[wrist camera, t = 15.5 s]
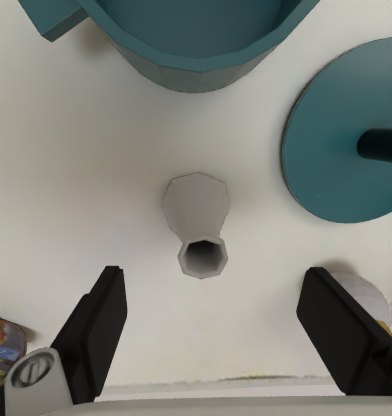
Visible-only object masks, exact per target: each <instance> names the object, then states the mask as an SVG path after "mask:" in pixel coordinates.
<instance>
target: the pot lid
mask: <svg viewBox="0 0 392 416" xmlns="http://www.w3.org/2000/svg"><path fill="white" fill-rule="evenodd" d="M282 166H283V173H284V177H285V180H286V183H287V185H288V187H289V190H290V192H291V193H292V195H293V196H294V198H295V199H296V200H297V202H298V203H299V204H300V205H301V206H302V207H304V208H305V209H306V210H307V211H309V212H310V213H312V214H314V215H315V216H317V217H319V218H322V219H324V220H327V221H331V222H336V223H359V222H364V221H369V220H372V219H376V218H379V217H381V216H384V215H386V214H388V213H390V212H392V37H389V38H384V39H378V40H374V41H372V42H369V43H366V44H363V45H361V46H359V47H357V48H354V49H352V50H350V51H348V52H346V53H345V54H343V55H342V56H340V57H339V58H337V59H335V60H334V61H333V62H331V63H330V64H329V65H328V66H327V67H325V68H324V69H323V70H322V71H321V72H320V73H319V74H318V75H317V76H316V77H315V78H314V79H313V80H312V82H311V83H310V84H309V85H308V87H307V88H306V89H305V91H304V92H303V93H302V95H301V97H300V98H299V100H298V102H297V103H296V105H295V107H294V109H293V111H292V113H291V115H290V118H289V121H288V124H287V127H286V130H285V134H284V139H283V146H282Z"/></svg>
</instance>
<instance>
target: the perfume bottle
mask: <svg viewBox="0 0 392 416" xmlns="http://www.w3.org/2000/svg"><path fill="white" fill-rule="evenodd" d="M331 275H332V276H333V277H334V279H335V280H336V281H337V282H338V283H339V284H340V285H341V286H342V287H343V288H344V289H345V290H346V291H347V292H348V293H349V294H350V295H351V296H352V297H353V298H354V299H355V300H356V301H357V302H358V303H359V304H360V305H361V306H362V307H363V308H364V309H365V310H366V311H367V312H368V313H369V314H370V315H371V316H372V317H373V318H374V319H375V320H376V321H377V322H378V323H379V324H380V325H381V326H382V327H383V328H384V329H385V330H386V331H387V332H388V333H389V334H390V335H391V336H392V333H391V331H390V330H389V327H390V324H391V312H390V308H389V305H388V303H387V301H386V299H385V298H384V296H383V295H382V293H381V292H380V291H379V290H378V289H377V288H376V287H375V286H374V285H373V284H372V283H370V282H368V281H367V280H365V279H363V278H362V277H360V276H357V275H354V274H351V273H342V272H339V273H331Z"/></svg>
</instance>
